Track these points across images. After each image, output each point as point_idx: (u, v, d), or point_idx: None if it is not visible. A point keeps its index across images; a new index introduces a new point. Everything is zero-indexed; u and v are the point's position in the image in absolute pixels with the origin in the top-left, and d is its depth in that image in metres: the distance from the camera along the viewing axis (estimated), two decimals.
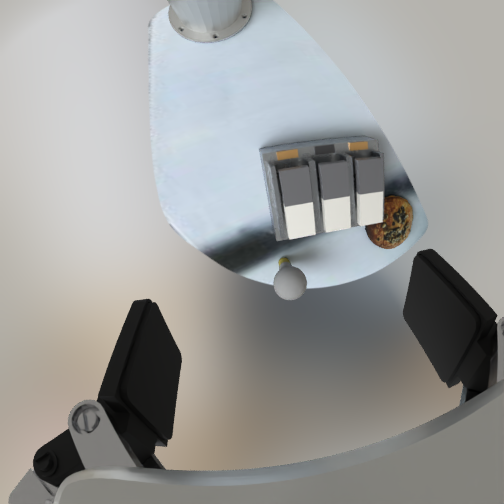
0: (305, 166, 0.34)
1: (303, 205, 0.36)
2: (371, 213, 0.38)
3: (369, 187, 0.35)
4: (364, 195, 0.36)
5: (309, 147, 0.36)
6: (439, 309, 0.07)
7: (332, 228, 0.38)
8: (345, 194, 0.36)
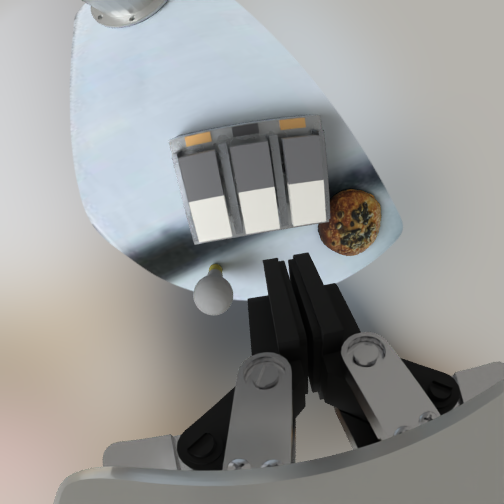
0: (210, 151, 0.27)
1: (212, 199, 0.29)
2: (308, 209, 0.30)
3: (302, 174, 0.28)
4: (296, 185, 0.29)
5: (225, 128, 0.29)
6: (301, 315, 0.08)
7: (254, 229, 0.31)
8: (268, 184, 0.29)
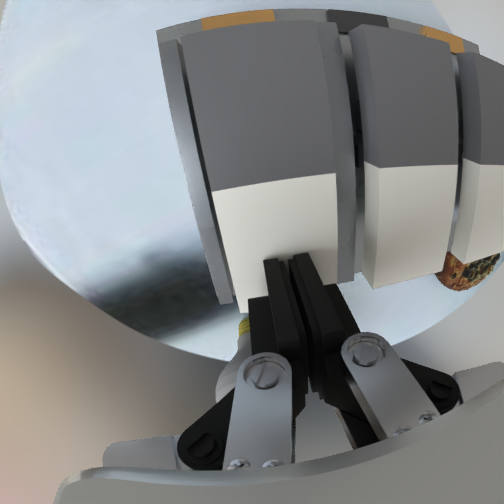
0: (298, 22, 0.06)
1: (296, 184, 0.08)
2: (492, 227, 0.09)
3: (499, 145, 0.07)
4: (488, 169, 0.08)
5: (312, 11, 0.08)
6: (301, 315, 0.08)
7: (394, 275, 0.10)
8: (447, 156, 0.08)
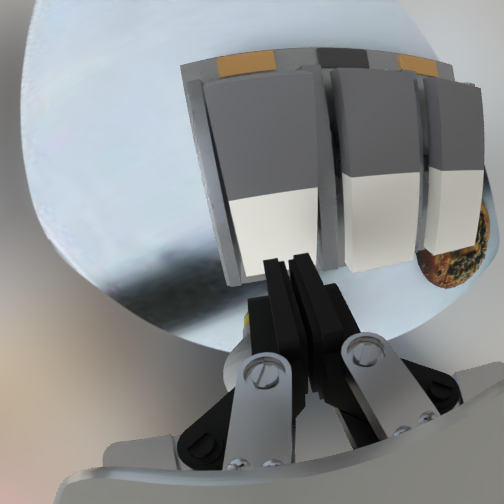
0: (298, 73, 0.08)
1: (288, 195, 0.12)
2: (459, 223, 0.12)
3: (460, 153, 0.11)
4: (450, 174, 0.11)
5: (304, 50, 0.12)
6: (301, 315, 0.08)
7: (370, 262, 0.13)
8: (409, 165, 0.11)
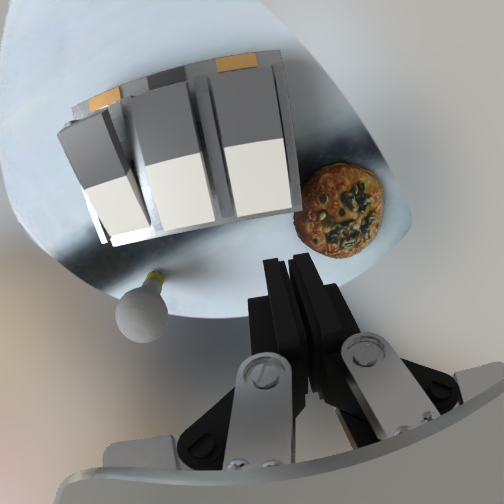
0: (96, 115, 0.14)
1: (111, 182, 0.17)
2: (260, 188, 0.18)
3: (245, 129, 0.16)
4: (235, 148, 0.17)
5: (140, 80, 0.17)
6: (301, 315, 0.08)
7: (175, 223, 0.19)
8: (189, 149, 0.17)
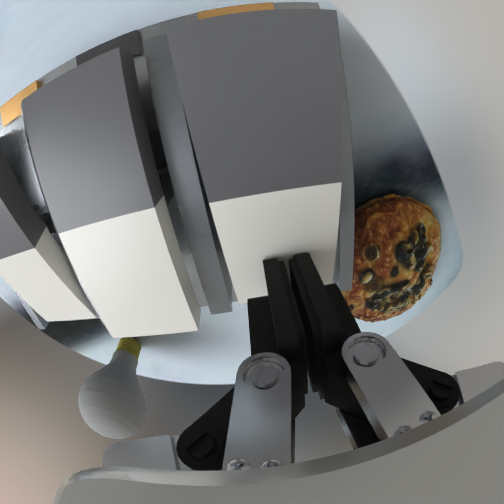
0: None
1: (19, 257, 0.08)
2: None
3: (259, 163, 0.07)
4: (236, 204, 0.08)
5: (67, 64, 0.08)
6: (301, 315, 0.08)
7: (128, 329, 0.10)
8: (131, 201, 0.07)
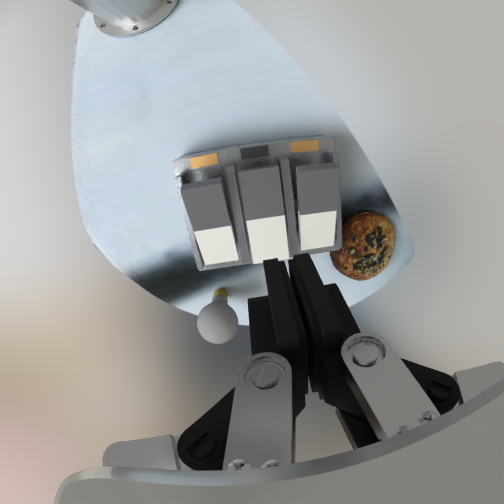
0: (216, 182, 0.24)
1: (218, 229, 0.28)
2: (317, 236, 0.30)
3: (315, 205, 0.27)
4: (307, 216, 0.28)
5: (233, 150, 0.28)
6: (301, 315, 0.08)
7: (262, 259, 0.29)
8: (277, 212, 0.27)
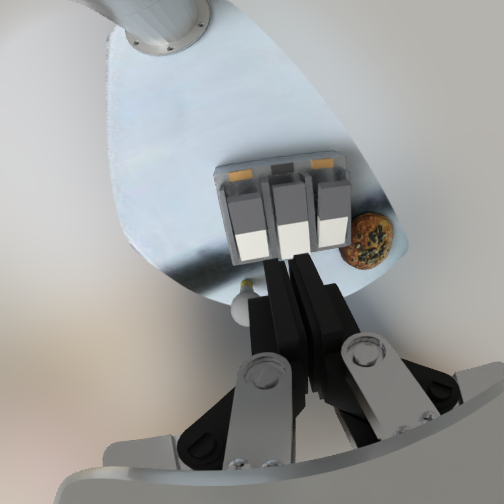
0: (256, 197, 0.31)
1: (255, 232, 0.35)
2: (332, 236, 0.37)
3: (332, 213, 0.34)
4: (325, 221, 0.34)
5: (265, 166, 0.34)
6: (301, 315, 0.08)
7: (289, 255, 0.36)
8: (303, 219, 0.34)
